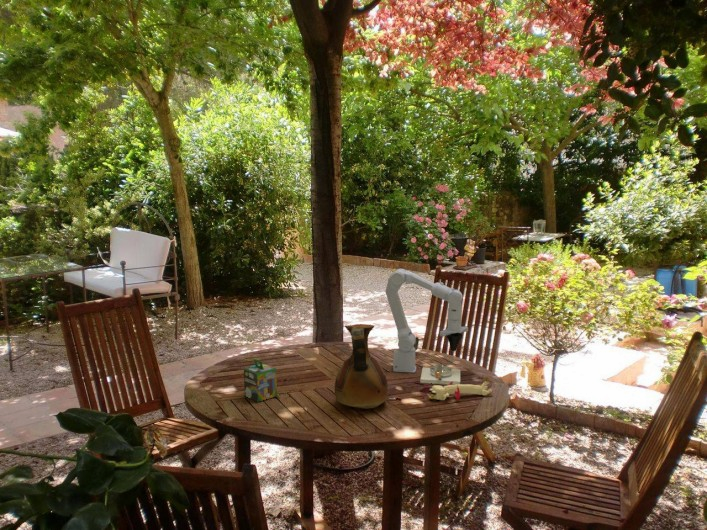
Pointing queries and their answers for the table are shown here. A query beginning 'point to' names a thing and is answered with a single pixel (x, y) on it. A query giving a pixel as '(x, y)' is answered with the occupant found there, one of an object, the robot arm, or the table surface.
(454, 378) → the cap plate
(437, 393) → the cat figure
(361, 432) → the table surface
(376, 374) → the brown vase
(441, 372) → the grey metal handled bowl
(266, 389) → the chalk box
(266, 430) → the table surface
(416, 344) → the cup
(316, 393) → the table surface
